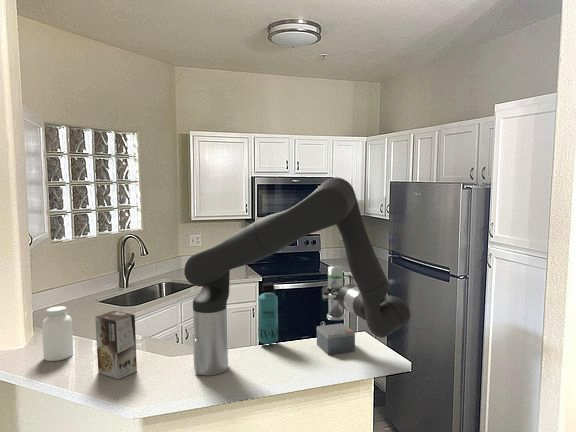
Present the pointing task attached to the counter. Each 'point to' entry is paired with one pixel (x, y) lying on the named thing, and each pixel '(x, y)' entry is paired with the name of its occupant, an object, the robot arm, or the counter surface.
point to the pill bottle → (57, 334)
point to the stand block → (335, 339)
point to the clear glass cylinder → (337, 281)
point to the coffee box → (116, 344)
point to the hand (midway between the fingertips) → (331, 287)
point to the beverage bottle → (268, 315)
